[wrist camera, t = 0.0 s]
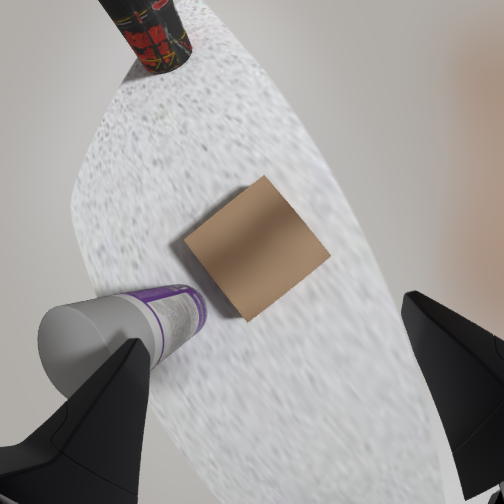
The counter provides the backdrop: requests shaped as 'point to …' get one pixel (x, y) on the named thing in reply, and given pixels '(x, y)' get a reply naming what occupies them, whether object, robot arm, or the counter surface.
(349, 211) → the counter surface
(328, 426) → the counter surface
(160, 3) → the deodorant
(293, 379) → the counter surface
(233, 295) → the base block
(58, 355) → the container
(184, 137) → the counter surface
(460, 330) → the robot arm
